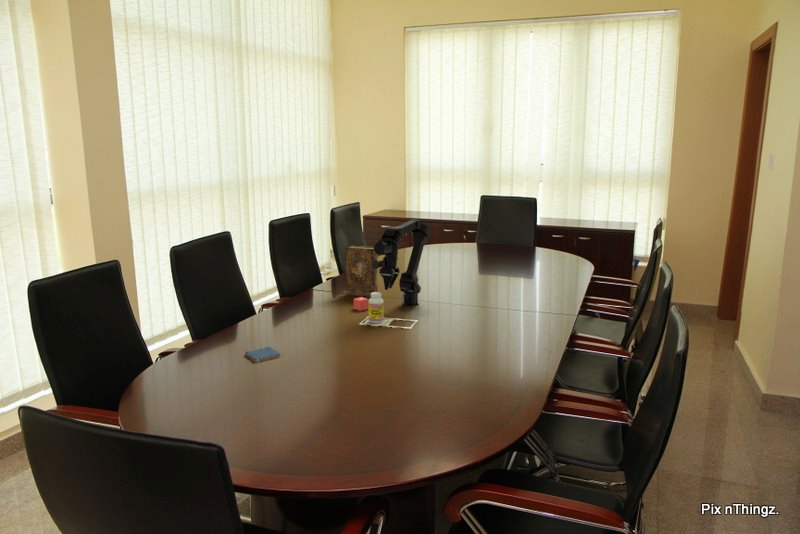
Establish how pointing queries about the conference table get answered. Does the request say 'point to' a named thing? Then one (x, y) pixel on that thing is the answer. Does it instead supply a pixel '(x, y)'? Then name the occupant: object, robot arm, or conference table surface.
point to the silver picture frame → (387, 323)
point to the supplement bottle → (376, 308)
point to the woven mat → (262, 354)
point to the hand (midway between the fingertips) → (388, 289)
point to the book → (360, 271)
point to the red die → (361, 303)
